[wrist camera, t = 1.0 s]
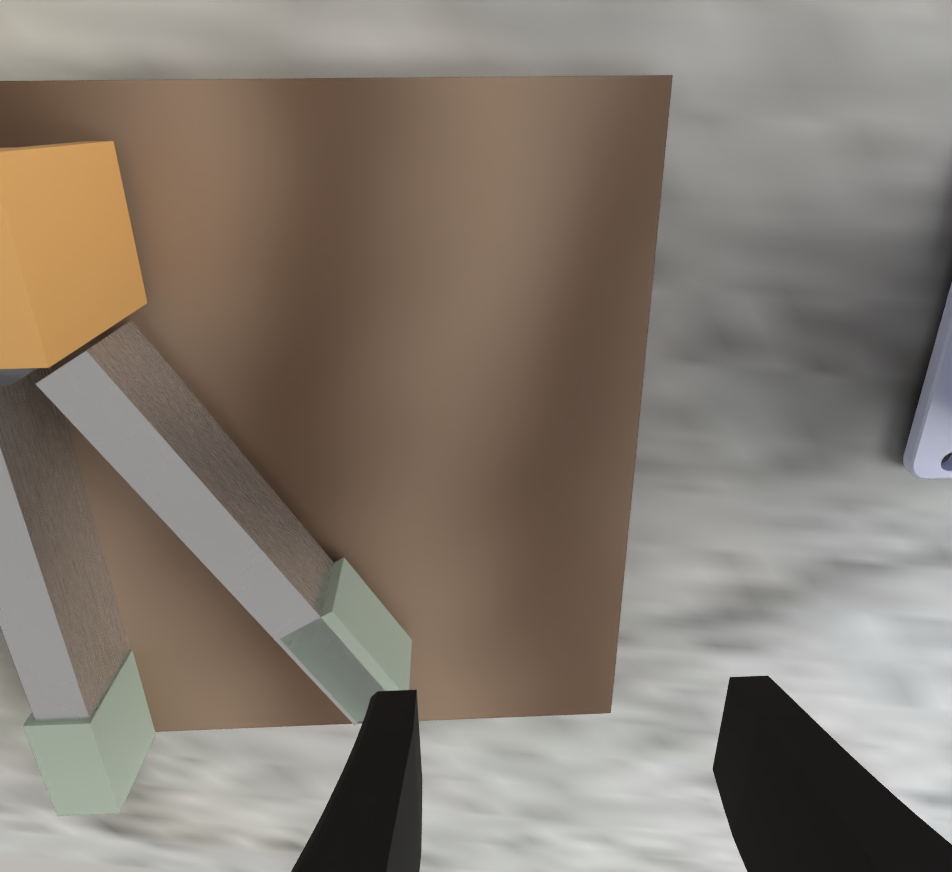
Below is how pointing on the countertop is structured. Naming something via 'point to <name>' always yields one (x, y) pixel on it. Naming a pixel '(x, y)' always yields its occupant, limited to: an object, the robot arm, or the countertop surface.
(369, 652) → the tong arm
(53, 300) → the collar
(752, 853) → the robot arm
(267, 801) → the countertop surface
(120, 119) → the tong board
